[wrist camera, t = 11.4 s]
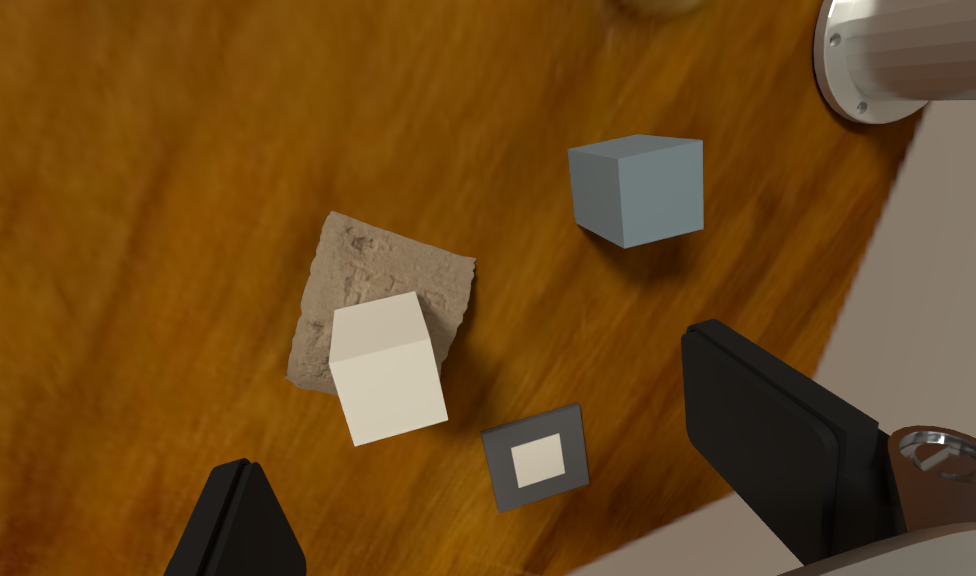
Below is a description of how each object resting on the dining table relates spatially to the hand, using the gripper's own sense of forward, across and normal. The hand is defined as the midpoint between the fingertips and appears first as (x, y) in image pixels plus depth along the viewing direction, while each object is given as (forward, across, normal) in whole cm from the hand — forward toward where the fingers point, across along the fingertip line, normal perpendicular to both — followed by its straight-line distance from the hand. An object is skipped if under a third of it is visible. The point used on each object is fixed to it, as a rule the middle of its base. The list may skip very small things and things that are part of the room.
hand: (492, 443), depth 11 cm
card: (+23, -4, +21) cm, 32 cm away
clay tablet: (+24, +4, +6) cm, 25 cm away
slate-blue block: (+23, -13, +1) cm, 27 cm away
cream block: (+21, +4, +6) cm, 22 cm away
